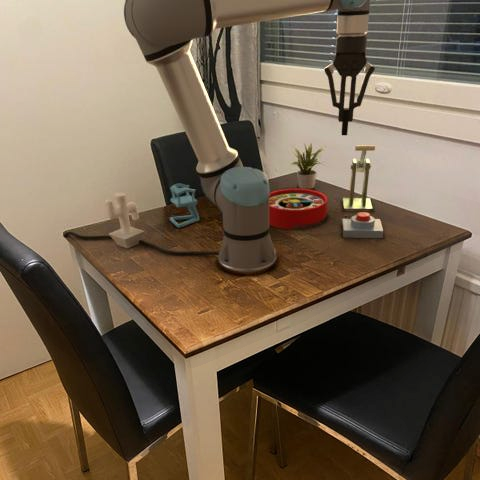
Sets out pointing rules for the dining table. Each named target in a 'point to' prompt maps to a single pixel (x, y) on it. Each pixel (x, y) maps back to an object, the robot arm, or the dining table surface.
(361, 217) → the button
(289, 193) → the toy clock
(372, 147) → the lever
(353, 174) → the frame stand
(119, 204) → the figurine
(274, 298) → the dining table surface
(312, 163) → the house plant
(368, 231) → the button box
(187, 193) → the chair
